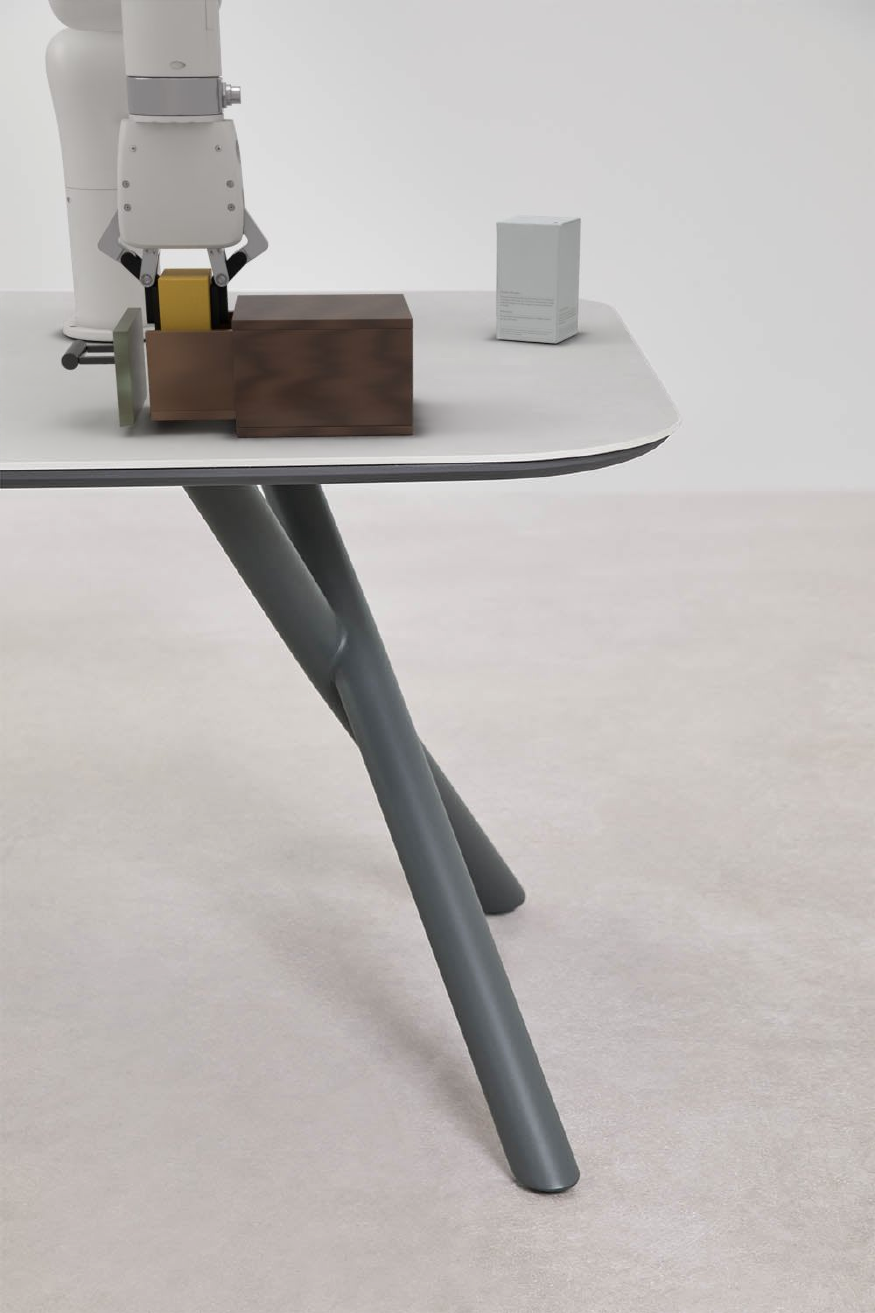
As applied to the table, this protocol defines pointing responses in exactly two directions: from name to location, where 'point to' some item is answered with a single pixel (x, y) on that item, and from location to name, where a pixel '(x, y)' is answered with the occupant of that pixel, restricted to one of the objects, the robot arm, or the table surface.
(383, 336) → the cabinet
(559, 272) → the white packaging box
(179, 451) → the table surface
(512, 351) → the table surface
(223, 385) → the drawer
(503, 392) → the table surface
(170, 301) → the yellow box
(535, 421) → the table surface
